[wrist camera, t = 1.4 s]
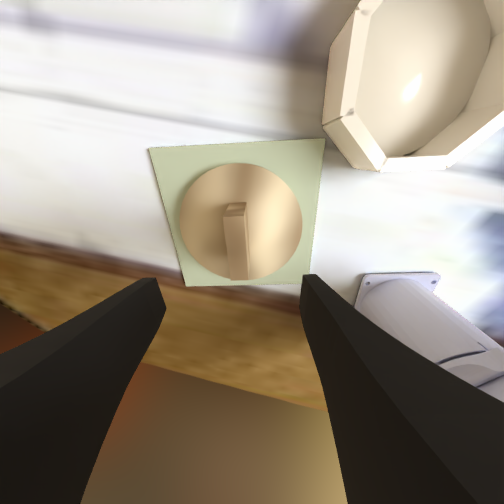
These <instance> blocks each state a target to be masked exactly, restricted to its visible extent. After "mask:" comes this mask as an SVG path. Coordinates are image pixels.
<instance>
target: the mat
mask: <svg viewBox="0 0 504 504" xmlns="http://www.w3.org/2000/svg"><path fill="white" fill-rule="evenodd" d="M324 146H325V138H319V139H301V140H283V141H265V142H247V143H229V144H212V145H194V146H176V147H158V148H149V152H150V155H151V159H152V163H153V166H154V170H155V174H156V177H157V181H158V185H159V188H160V192H161V196H162V199H163V203H164V207H165V210H166V214H167V218H168V221H169V225H170V229H171V232H172V236H173V240H174V243H175V247H176V251H177V254H178V258H179V262H180V265H181V269H182V273H183V277H184V280H185V284H186V286H225V285H272V284H302V277H303V274H309V270H310V262H311V254H312V245H313V237H314V229H315V221H316V212H317V204H318V196H319V188H320V179H321V171H322V163H323V155H324ZM232 163H248V164H254V165H257V166H260V167H263V168H265V169H267V170H269V171H271V172H273V173H274V174H276V175H277V176H278V177H279V178H281V179H282V180H283V181H284V182H285V183H286V184H287V185H288V187H289V188H290V189H291V190H292V192H293V193H294V195H295V197H296V199H297V201H298V203H299V206H300V209H301V213H302V221H303V223H302V235H301V239H300V242H299V245H298V247H297V249H296V251H295V253H294V254H293V256H292V257H291V258H290V259H289V261H288V262H287V263H286V264H285V265H284V266H283V267H281V268H280V269H278V270H277V271H275V272H274V273H272V274H270V275H267V276H265V277H262V278H259V279H254V280H237V281H231V279H228V278H224V277H221V276H218V275H216V274H214V273H212V272H210V271H209V270H207V269H206V268H204V267H203V266H202V265H200V264H199V263H198V262H197V261H196V260H195V259H194V257H193V256H192V255H191V254H190V252H189V250H188V249H187V247H186V245H185V243H184V241H183V238H182V235H181V230H180V221H179V217H180V209H181V205H182V202H183V199H184V197H185V195H186V193H187V191H188V190H189V188H190V187H191V186H192V184H193V183H194V182H195V181H196V180H197V179H198V178H199V177H200V176H202V175H203V174H205V173H206V172H208V171H210V170H212V169H214V168H216V167H219V166H223V165H226V164H232Z"/></svg>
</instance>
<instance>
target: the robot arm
mask: <svg viewBox="0 0 504 504" xmlns="http://www.w3.org/2000/svg"><path fill="white" fill-rule="evenodd" d="M440 277H441V276H440V275H439V274H437V273H402V274H367V275H365V276H364V277H363V279H362V282H361V285H360V289H359V292H358V296H357V299H356V303H355V306H354V307H353V306H351V305H350V304H349V303H348V302H347V301H345V300H344V299H343V298H342V297H341V296H340V295H338V294H337V293H336V292H335V291H334V290H333V289H332V288H331V287H329V286H328V285H327V284H326V283H325V282H324V281H323V280H322V279H321V278H319V277H318V276H317V275H316V274H303V277H302V286H301V295H300V304H299V308H300V313H301V318H302V323H303V327H304V330H305V333H306V337H307V340H308V343H309V346H310V349H311V352H312V355H313V358H314V361H315V364H316V367H317V370H318V373H319V377H320V380H321V384H322V387H323V391H324V395H325V400H326V404H327V408H328V413H329V417H330V421H331V426H332V430H333V435H334V439H335V444H336V448H337V453H338V458H339V463H340V468H341V473H342V477H343V482H344V487H345V492H346V497H347V502H348V504H504V348H503V347H501V346H500V345H499V344H497V343H496V342H495V341H494V340H492V339H491V338H490V337H488V336H487V335H486V334H485V333H483V332H482V331H481V330H480V329H478V328H477V327H476V326H474V325H473V324H472V323H471V322H469V321H468V320H467V319H465V318H464V317H463V316H462V315H460V314H459V313H458V312H457V311H455V310H454V309H453V308H451V307H450V306H449V305H448V304H446V303H445V302H444V301H442V300H441V299H440V298H439V297H437V296H436V295H435V294H434V293H433V291H434V289H435V287H436V285H437V283H438V281H439V280H440ZM366 282H367V283H366ZM165 311H166V305H165V302H164V300H163V297H162V294H161V291H160V288H159V286H158V283H157V280H156V278H142V279H140V280H138V281H136V282H135V283H133V284H131V285H129V286H127V287H126V288H124V289H122V290H121V291H119V292H117V293H116V294H114V295H112V296H110V297H109V298H107V299H105V300H104V301H102V302H100V303H99V304H97V305H95V306H94V307H92V308H90V309H88V310H86V311H85V312H83V313H81V314H79V315H77V316H76V317H74V318H72V319H70V320H69V321H67V322H65V323H63V324H61V325H59V326H58V327H56V328H54V329H52V330H50V331H48V332H46V333H44V334H42V335H40V336H38V337H36V338H34V339H32V340H30V341H28V342H26V343H24V344H22V345H20V346H18V347H15V348H13V349H11V350H9V351H7V352H4V353H2V354H0V504H80V502H81V500H82V497H83V494H84V491H85V488H86V485H87V483H88V480H89V477H90V475H91V472H92V469H93V467H94V464H95V462H96V459H97V457H98V454H99V451H100V449H101V446H102V444H103V441H104V439H105V437H106V434H107V431H108V429H109V427H110V424H111V422H112V420H113V417H114V415H115V412H116V410H117V408H118V406H119V404H120V401H121V399H122V397H123V395H124V392H125V390H126V388H127V386H128V384H129V382H130V380H131V378H132V376H133V374H134V372H135V371H136V369H137V367H138V365H139V363H140V362H141V360H142V358H143V356H144V354H145V353H146V351H147V349H148V347H149V345H150V344H151V342H152V340H153V338H154V336H155V334H156V332H157V331H158V329H159V327H160V324H161V322H162V319H163V317H164V314H165Z"/></svg>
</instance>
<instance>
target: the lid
mask: <svg viewBox="0 0 504 504" xmlns="http://www.w3.org/2000/svg"><path fill="white" fill-rule="evenodd" d="M179 221H180V230H181V235H182V238H183V241H184V243H185V245H186V247H187V249H188V250H189V252H190V254H191V255H192V256H193V257H194V259H195V260H196V261H197V262H198V263H199V264H200V265H202V266H203V267H204V268H206V269H207V270H209V271H210V272H212V273H214V274H216V275H218V276H221V277H224V278H228V279H231V281H237V280H254V279H259V278H262V277H265V276H267V275H270V274H272V273H274V272H275V271H277V270H278V269H280V268H281V267H283V266H284V265H285V264H286V263H287V262H288V261H289V259H290V258H291V257H292V256H293V254H294V253H295V251H296V249H297V247H298V245H299V242H300V239H301V235H302V223H303V221H302V213H301V209H300V206H299V203H298V201H297V199H296V197H295V195H294V193H293V192H292V190H291V189H290V188H289V187H288V185H287V184H286V183H285V182H284V181H283V180H282V179H281V178H279V177H278V176H277V175H276V174H274V173H273V172H271V171H269V170H267V169H265V168H263V167H260V166H257V165H254V164H248V163H232V164H226V165H223V166H219V167H216V168H214V169H212V170H210V171H208V172H206V173H205V174H203V175H202V176H200V177H199V178H198V179H197V180H196V181H195V182H194V183H193V184H192V186H191V187H190V188H189V190H188V191H187V193H186V195H185V197H184V199H183V202H182V205H181V209H180V217H179Z"/></svg>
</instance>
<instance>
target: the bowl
mask: <svg viewBox="0 0 504 504" xmlns="http://www.w3.org/2000/svg"><path fill="white" fill-rule="evenodd" d="M331 45H332V46H331V47H330V52H329V61H328V70H327V79H326V88H325V97H324V106H323V116H322V125H324V126H323V127H322V128H323V129H324V131H325V132H326V133H327V135H328V136H329V137H330V138H331V140H332V141H333V142H334V144H335V145H336V146H337V147H338V149H339V150H340V151H341V153H342V154H343V155H344V157H345V158H346V159H347V160H348V162H349V163H350V164H351V166H352V167H353V168H355V169H361V170H369V171H376V172H391V171H412V170H433V169H445V168H448V167H450V166H451V165H452V164H454V163H455V162H456V161H458V160H459V159H460V158H462V157H463V156H464V155H465V154H467V153H468V152H469V151H471V150H472V149H473V148H475V147H476V146H477V145H479V144H480V143H481V142H483V141H484V140H485V139H486V138H488V137H489V136H490V135H492V134H493V133H494V132H496V131H497V130H498V129H500V128H501V127H502V126H503V125H504V0H361V1H360V3H359V4H358V5H357V7H356V8H355V10H354V11H353V13H352V14H351V16H350V17H349V19H348V20H347V22H346V23H345V25H344V26H343V28H342V29H341V31H340V32H339V34H338V35H337V37H336V38H335V40H334V41H333V43H332V44H331ZM408 153H409V154H408ZM406 154H408V155H406ZM402 155H406V156H402Z"/></svg>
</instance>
